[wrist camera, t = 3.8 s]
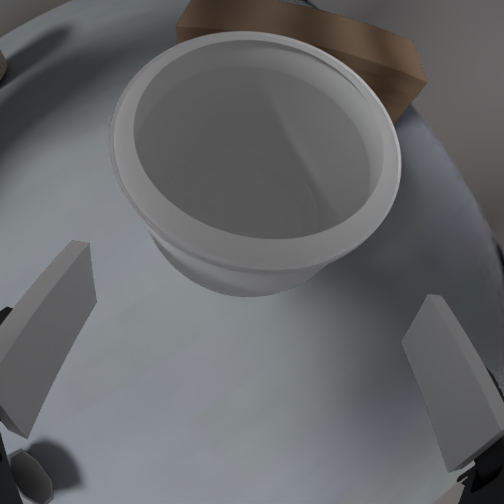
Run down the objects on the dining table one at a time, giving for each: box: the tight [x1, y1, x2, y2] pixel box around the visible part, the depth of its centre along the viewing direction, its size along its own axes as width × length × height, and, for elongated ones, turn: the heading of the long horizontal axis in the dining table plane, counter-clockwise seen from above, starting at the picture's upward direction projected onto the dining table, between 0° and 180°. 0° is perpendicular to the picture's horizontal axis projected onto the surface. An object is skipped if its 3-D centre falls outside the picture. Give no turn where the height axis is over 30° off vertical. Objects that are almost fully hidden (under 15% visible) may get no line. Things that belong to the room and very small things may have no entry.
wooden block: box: [176, 0, 427, 125], centre depth 24 cm, size 20×10×9 cm, turn 83°
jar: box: [109, 31, 401, 297], centre depth 17 cm, size 11×10×15 cm
